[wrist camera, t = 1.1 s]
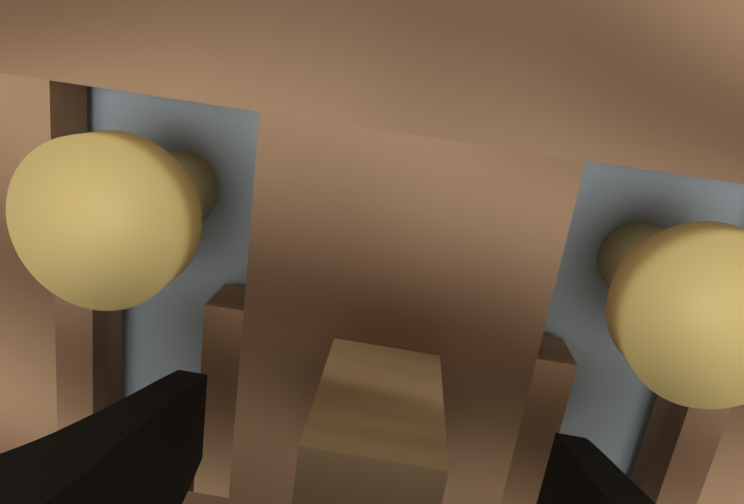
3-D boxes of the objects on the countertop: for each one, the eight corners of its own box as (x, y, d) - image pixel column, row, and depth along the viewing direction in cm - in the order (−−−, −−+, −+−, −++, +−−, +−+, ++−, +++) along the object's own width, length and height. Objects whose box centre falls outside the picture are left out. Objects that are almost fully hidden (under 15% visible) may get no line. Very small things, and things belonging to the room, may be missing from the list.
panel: (704, 623, 16) (839, 880, 11) (12, 502, 17) (-169, 687, 12) (952, 11, 11) (1390, -46, 6) (-21, -123, 12) (-345, -272, 7)
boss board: (671, 604, 18) (769, 807, 13) (45, 495, 19) (-93, 646, 14) (994, -250, 11) (1437, -505, 6) (18, -369, 12) (-262, -681, 7)
